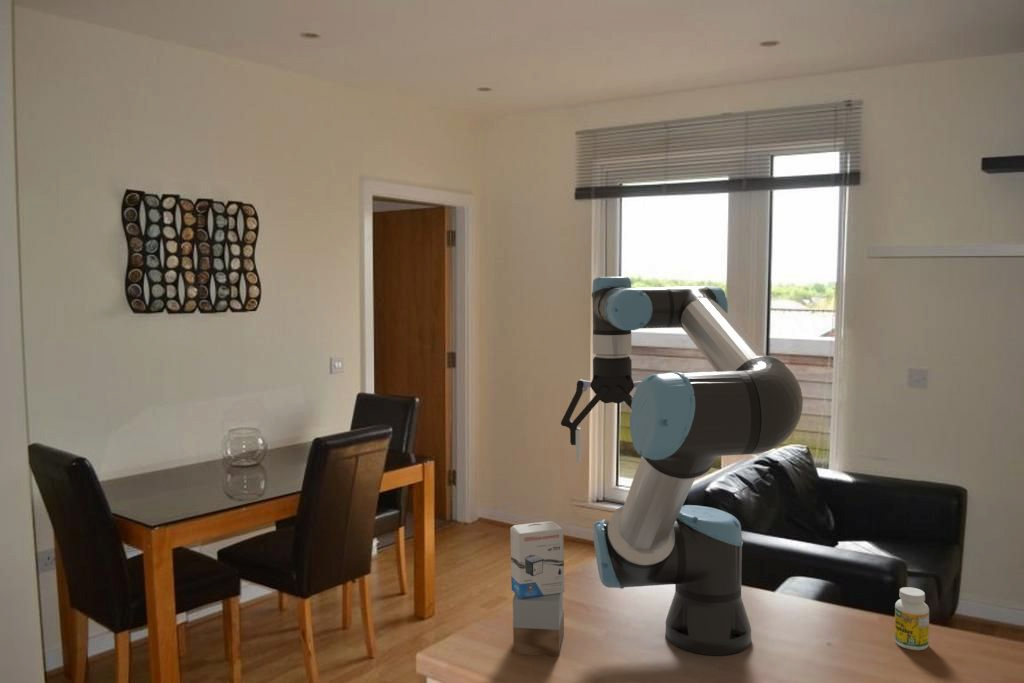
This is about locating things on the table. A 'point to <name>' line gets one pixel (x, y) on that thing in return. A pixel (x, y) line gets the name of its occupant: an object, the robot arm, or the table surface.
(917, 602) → the supplement bottle
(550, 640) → the walnut block
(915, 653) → the table surface
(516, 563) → the ink box
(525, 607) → the grey block
